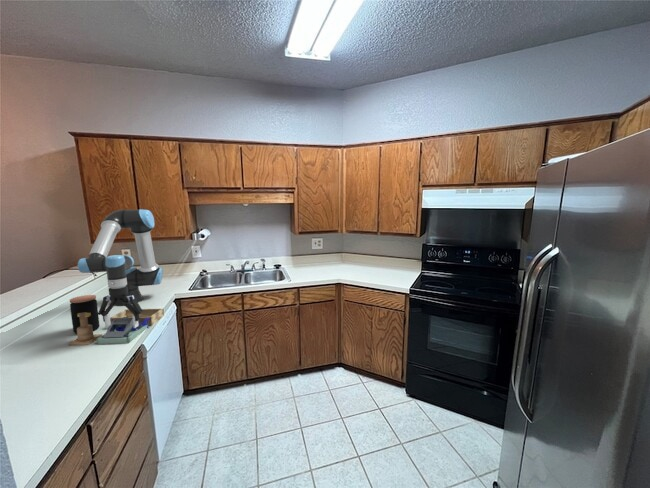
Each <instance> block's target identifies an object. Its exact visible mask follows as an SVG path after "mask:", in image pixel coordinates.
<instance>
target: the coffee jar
mask: <svg viewBox="0 0 650 488" xmlns="http://www.w3.org/2000/svg"><path fill="white" fill-rule="evenodd" d="M69 303H70V304H69V305H70V307H69V308H70V315H71V324H72V331H73V333H74V334H76V335H77V328H78V327H80V318H79V317H78V315H77V314H78V313H83V312H87V313H91V316H89V317H87V319H88V325H92V327H93V332H95V331H97V330H98V329H99V328H100V318H99V315H98V312H99V309H98V301H97V295H95V294H84V295H80V296H75V297H72V298H70V299H69Z"/></svg>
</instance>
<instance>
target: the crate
mask: <svg viewBox="0 0 650 488" xmlns="http://www.w3.org/2000/svg"><path fill="white" fill-rule="evenodd" d="M141 309H142V310H143V312H142V313H140V314H139V320H138V323H140V324H141V323H142V322H143V321H144V320H145V319H146V318H149V320H148V321H147V325H148V327H153V325H155V324H156V323H158V321H160V320H161V319H162V318H164V316H165V311H164V310H165V309H164V308H141ZM133 315H134V314H133V313H132V312H131V311H130V310H129V309H128V308H127V309H125V308H124V310H121V311H120V312H118V313H117V314H114V315H113V316H110V321H111V323H112V322H113V320H114V319H123V317H128V318H129V319H133Z"/></svg>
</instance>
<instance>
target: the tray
mask: <svg viewBox="0 0 650 488" xmlns="http://www.w3.org/2000/svg"><path fill="white" fill-rule="evenodd" d="M147 326H148V325H146V326H143V325H140V326H138V327H137V329H136V330H134V331H130V332H129V334H128V336H127V338H103V337H104V335H105V334H106V333H104V334H102V336H101V337H99V338H97V339H96V340H95V341H96V342H95V343H96V345H109V344H111V345H114V344H117V345H119V344H131V342H132V341H133V340H135V339H136V338H137V337H139V336H140V335H141V334H142V333H143V332H145V331H146V330H147V329H148V328H147ZM148 327H149V326H148ZM114 331H116V330H114Z"/></svg>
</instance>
